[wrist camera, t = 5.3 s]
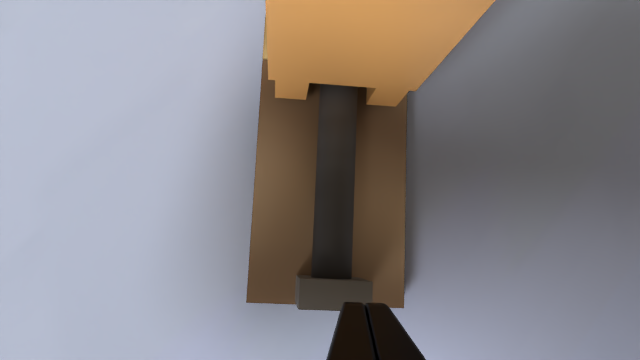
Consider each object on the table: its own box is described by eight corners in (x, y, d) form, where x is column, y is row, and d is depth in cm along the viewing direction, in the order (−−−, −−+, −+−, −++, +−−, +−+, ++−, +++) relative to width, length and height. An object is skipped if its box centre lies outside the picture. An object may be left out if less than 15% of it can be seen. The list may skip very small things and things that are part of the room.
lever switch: (395, 304, 16) (444, 325, 11) (247, 299, 15) (237, 318, 11) (401, -19, 18) (444, -111, 13) (270, -32, 17) (269, -132, 13)
